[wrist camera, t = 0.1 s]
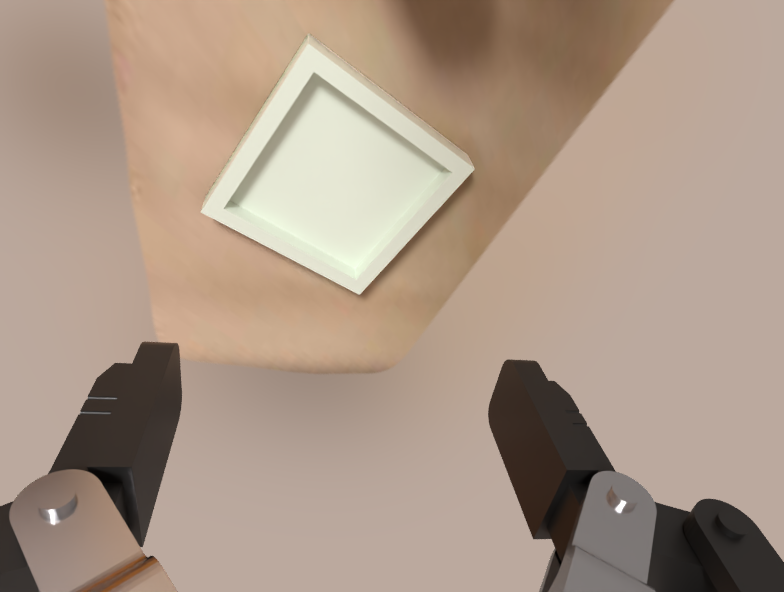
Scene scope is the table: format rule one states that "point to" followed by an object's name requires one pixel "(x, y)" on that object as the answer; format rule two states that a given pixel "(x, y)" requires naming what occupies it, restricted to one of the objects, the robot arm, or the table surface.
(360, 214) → the tray
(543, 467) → the robot arm
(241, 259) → the table surface
